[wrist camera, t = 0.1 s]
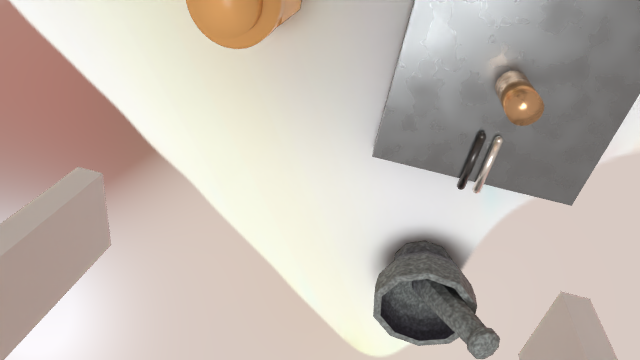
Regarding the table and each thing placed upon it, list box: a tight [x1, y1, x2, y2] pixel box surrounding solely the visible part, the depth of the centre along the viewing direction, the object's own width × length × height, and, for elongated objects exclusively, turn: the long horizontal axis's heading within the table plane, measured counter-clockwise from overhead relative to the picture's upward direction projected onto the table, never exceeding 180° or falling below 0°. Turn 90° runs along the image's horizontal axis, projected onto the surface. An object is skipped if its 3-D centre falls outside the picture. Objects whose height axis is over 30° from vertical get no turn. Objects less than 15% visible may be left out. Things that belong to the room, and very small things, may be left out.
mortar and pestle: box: [373, 241, 500, 359], centre depth 42 cm, size 11×9×12 cm
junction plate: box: [372, 0, 640, 205], centre depth 33 cm, size 19×18×7 cm
